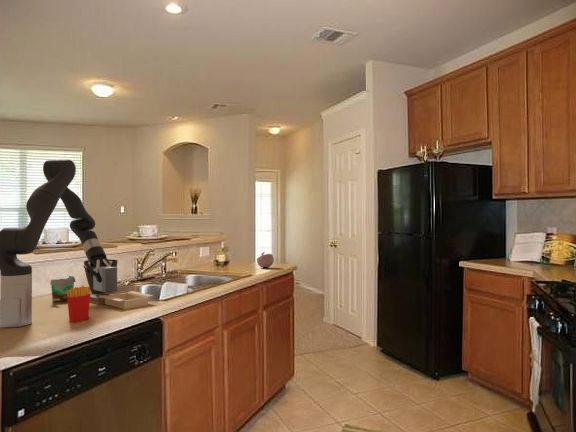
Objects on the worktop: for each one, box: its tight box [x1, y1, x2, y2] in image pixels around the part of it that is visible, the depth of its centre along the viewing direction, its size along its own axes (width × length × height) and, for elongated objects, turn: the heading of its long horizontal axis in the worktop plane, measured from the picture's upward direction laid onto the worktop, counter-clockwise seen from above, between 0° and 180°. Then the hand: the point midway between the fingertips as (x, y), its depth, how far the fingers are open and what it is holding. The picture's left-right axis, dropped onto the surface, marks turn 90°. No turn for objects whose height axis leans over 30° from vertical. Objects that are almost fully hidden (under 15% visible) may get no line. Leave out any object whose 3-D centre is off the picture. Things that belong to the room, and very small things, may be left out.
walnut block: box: [90, 291, 120, 305], centre depth 191 cm, size 12×12×3 cm
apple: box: [256, 251, 275, 268], centre depth 313 cm, size 12×12×12 cm
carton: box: [99, 290, 154, 310], centre depth 182 cm, size 15×16×4 cm
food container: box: [49, 275, 76, 303], centre depth 194 cm, size 12×6×10 cm, turn 168°
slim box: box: [93, 266, 118, 293], centre depth 191 cm, size 5×11×10 cm, turn 49°
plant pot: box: [83, 258, 119, 295], centre depth 210 cm, size 15×15×16 cm
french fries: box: [66, 285, 91, 323], centre depth 157 cm, size 8×4×12 cm, turn 153°
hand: (107, 280), depth 190 cm, fingers closed on slim box, 5 cm apart
